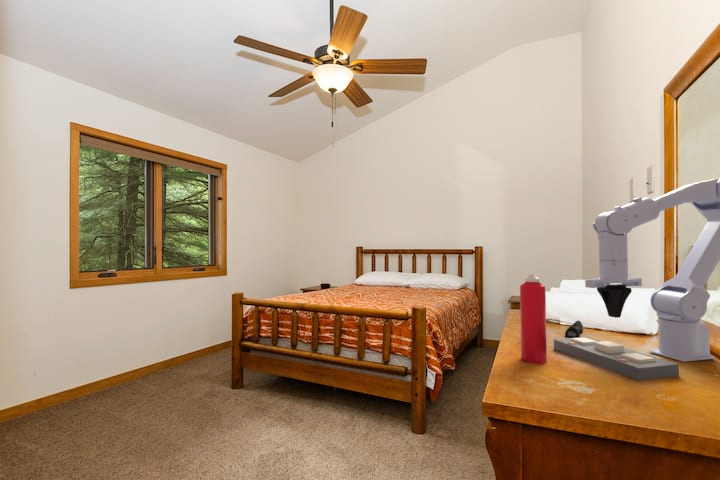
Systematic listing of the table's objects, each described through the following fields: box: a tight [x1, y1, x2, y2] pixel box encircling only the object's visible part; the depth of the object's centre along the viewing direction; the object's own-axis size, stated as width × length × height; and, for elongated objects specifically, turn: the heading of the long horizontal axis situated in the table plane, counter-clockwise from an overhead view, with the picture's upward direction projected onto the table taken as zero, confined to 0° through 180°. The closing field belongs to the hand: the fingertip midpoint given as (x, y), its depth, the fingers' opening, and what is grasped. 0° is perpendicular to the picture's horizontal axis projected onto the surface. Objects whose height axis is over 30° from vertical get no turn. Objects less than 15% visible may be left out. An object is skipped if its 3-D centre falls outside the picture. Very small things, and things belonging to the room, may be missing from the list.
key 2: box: [621, 353, 655, 364], centre depth 78 cm, size 4×4×3 cm
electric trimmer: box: [564, 320, 584, 338], centre depth 112 cm, size 4×16×3 cm, turn 142°
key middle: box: [594, 340, 625, 354], centre depth 85 cm, size 4×4×3 cm
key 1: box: [571, 336, 599, 346], centre depth 92 cm, size 4×4×3 cm
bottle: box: [519, 274, 548, 365], centre depth 86 cm, size 6×5×20 cm
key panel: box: [553, 336, 680, 382], centre depth 85 cm, size 10×23×3 cm, turn 12°
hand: (614, 316), depth 89 cm, fingers closed
